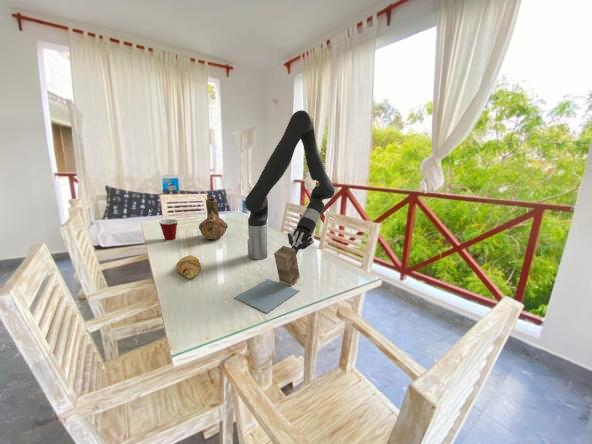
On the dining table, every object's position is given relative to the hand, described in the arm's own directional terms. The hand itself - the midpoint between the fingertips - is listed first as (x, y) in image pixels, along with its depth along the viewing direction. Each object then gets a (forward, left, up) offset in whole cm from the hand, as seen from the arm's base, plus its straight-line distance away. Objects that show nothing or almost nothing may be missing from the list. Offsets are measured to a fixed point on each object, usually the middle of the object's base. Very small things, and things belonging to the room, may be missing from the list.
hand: (291, 256), depth 104 cm
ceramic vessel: (-56, +49, -11) cm, 75 cm away
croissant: (-47, +3, -11) cm, 49 cm away
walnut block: (-1, -1, -10) cm, 10 cm away
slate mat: (-7, -12, -11) cm, 18 cm away
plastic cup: (-81, +44, -11) cm, 93 cm away
